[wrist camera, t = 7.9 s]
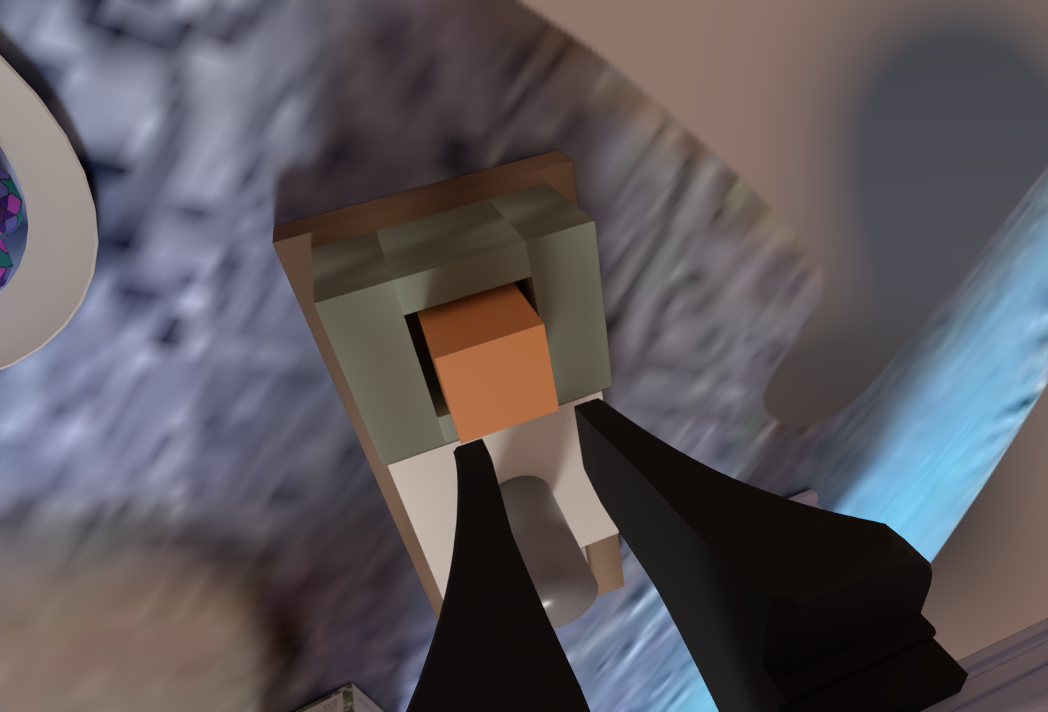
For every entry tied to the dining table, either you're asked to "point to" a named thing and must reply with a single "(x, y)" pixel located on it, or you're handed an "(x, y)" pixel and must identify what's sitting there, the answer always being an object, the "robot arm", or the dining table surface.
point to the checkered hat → (41, 223)
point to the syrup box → (343, 702)
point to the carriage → (519, 506)
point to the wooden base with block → (438, 277)
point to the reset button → (490, 360)
